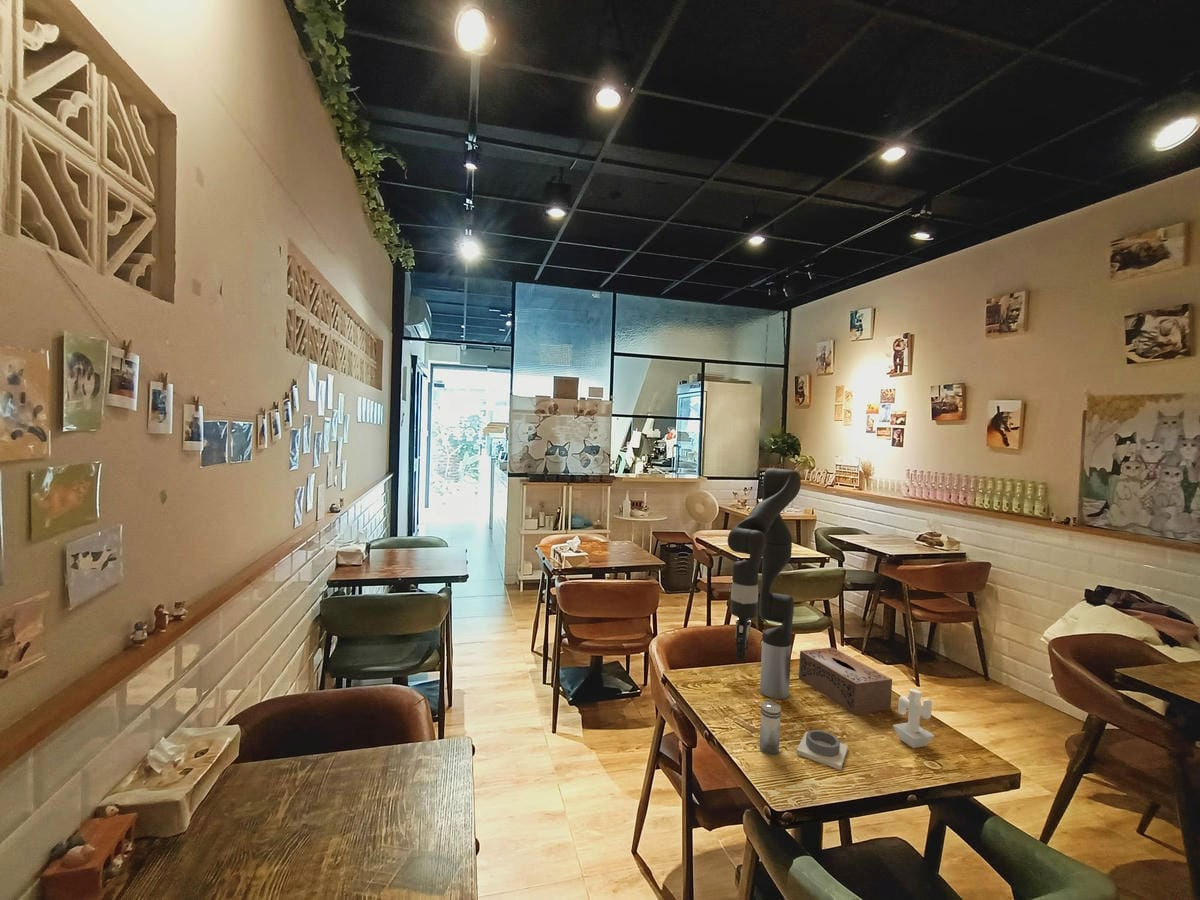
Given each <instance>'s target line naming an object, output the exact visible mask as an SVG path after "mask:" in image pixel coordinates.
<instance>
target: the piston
mask: <svg viewBox="0 0 1200 900" xmlns="http://www.w3.org/2000/svg"><path fill="white" fill-rule="evenodd" d="M760 706H761V707H760V715H761V716H760V733H759V750H760V751H761V752H762V753H764V754H765V755H768V756H776V755H778V754H779V752H780V737H781V735H780V734H781V718H782V707H781V705H780V704H779V703H777V702H776V701H775V702H774V701H769V700H767V701H763V702H761V705H760Z"/></svg>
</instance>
